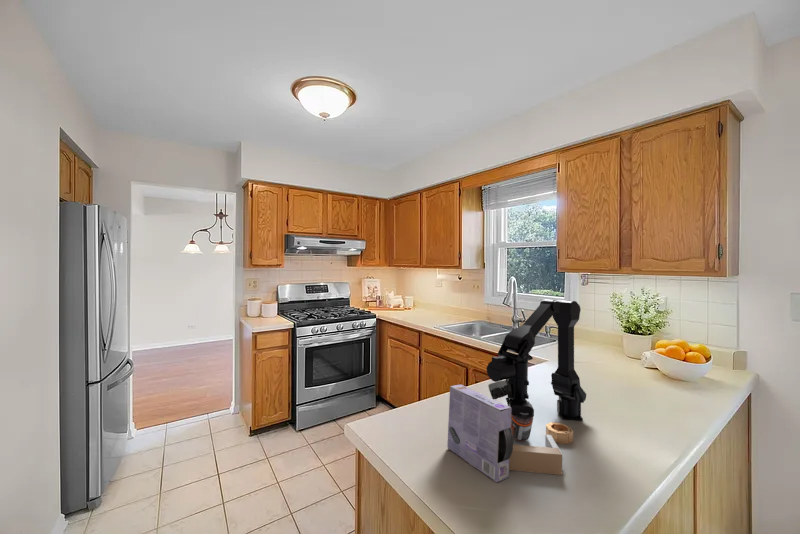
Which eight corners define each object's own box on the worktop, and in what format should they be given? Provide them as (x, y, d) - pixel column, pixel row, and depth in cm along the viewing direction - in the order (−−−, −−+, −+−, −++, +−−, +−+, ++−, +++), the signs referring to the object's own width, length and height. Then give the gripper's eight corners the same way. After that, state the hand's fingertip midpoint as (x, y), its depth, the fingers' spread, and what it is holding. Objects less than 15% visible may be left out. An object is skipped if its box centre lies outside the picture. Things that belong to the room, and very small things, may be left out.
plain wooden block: (551, 447, 96) (551, 429, 96) (566, 475, 83) (566, 455, 83) (492, 442, 98) (493, 425, 98) (498, 469, 85) (499, 449, 85)
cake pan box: (514, 479, 81) (514, 406, 81) (500, 486, 78) (500, 411, 78) (459, 443, 97) (459, 382, 97) (446, 449, 95) (446, 386, 95)
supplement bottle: (505, 426, 103) (508, 401, 97) (524, 423, 103) (528, 397, 98) (513, 444, 98) (518, 418, 92) (533, 440, 98) (538, 415, 93)
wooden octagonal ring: (567, 433, 104) (567, 423, 104) (575, 444, 97) (575, 434, 97) (544, 431, 105) (544, 421, 105) (550, 442, 98) (550, 432, 98)
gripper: (487, 363, 113) (487, 409, 114) (493, 385, 95) (492, 439, 96) (522, 365, 111) (521, 411, 112) (535, 388, 93) (533, 443, 94)
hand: (516, 425), depth 103 cm, fingers closed, pressing on supplement bottle
